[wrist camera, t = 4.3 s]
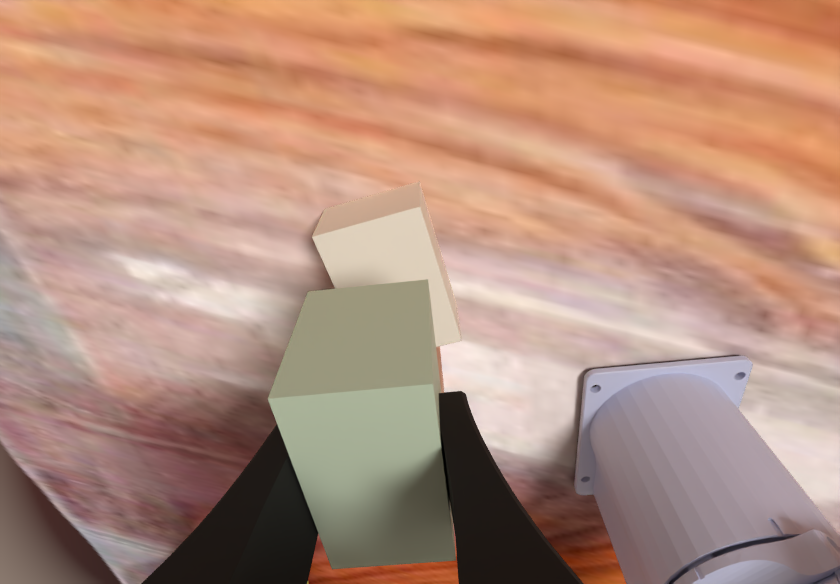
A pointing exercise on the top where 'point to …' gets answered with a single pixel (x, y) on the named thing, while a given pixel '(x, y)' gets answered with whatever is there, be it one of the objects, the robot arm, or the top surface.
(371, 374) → the green brick
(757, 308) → the top surface
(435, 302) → the cream brick
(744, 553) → the robot arm
